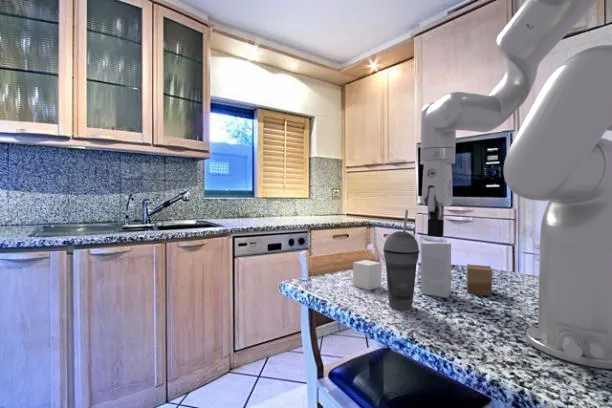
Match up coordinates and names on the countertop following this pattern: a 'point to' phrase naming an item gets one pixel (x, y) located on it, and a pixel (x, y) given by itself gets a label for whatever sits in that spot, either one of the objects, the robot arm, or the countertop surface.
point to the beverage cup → (401, 267)
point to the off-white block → (367, 274)
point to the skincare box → (436, 269)
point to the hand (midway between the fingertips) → (435, 236)
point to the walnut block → (479, 279)
